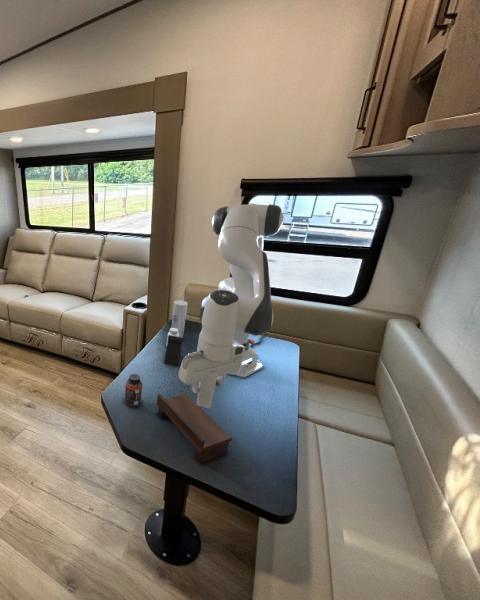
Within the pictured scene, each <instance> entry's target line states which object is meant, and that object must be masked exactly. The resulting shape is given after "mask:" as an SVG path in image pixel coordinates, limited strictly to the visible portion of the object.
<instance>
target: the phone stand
mask: <svg viewBox="0 0 480 600" xmlns="http://www.w3.org/2000/svg"><path fill="white" fill-rule="evenodd" d="M167 336H168V335H167ZM183 339H184V337H183V338H181V337H176V336H171V335H169V336H168V343H167V342H166V345H167V346H166V350H165V357H164V361H163V362H164V364H167V365H170V366H177V367H178V366H179V363H180V361H181V355H182V346H183Z"/></svg>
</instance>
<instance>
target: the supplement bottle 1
mask: <svg viewBox="0 0 480 600" xmlns="http://www.w3.org/2000/svg"><path fill="white" fill-rule="evenodd" d="M142 393H143V382H142V380H141V375H139V374H137V373H131V374H129V375H128V379H127V380H126V381H125V393H124V402H125V404H126V405H127V406H129V407H132V408H133V407H134V408H135V407H138V406H140V405H141V402H142Z"/></svg>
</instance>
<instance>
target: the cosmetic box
mask: <svg viewBox="0 0 480 600" xmlns="http://www.w3.org/2000/svg"><path fill="white" fill-rule="evenodd" d="M217 372H218V370H217V371H214V372H210V373H208V376H207V380H205V381H201V382H199V384H198V387H200V392H198V393H197V397H196V405H198V406H199V407H202V408H206V409H212V406H213V401H214V395H215V391H216V386H215V385H216V379H217Z"/></svg>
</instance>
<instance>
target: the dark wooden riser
mask: <svg viewBox="0 0 480 600" xmlns="http://www.w3.org/2000/svg"><path fill="white" fill-rule="evenodd" d="M196 404H197V402H195V401H194V400H193V399H191V398H190V397H189V396H188V395H187V394H186V393H183V394H178V395H174V396H172V397H169V398H164V396H163V395H162V394H161V393H159V394H158V393H157V398H156V406H157V407H158V410H157V416H158V417H159V418H160V419H163V418H166V417H167V418H168V419H169V420H170V421H171V422H172V423H173V424H174V426H175V427H176V428H177V429H178V430H179V431H180V432H181V433H182V435H184V436H185V438H187V440H188V441H189V442H190V443H191V444H192V445H193V446H194V448H195V449H196V456H195V459H196V460H197V461H198V463H200V464H202V463H205V462H208V461H210V460H214V459H215V458H218V457H221V456H224V455H227V454H228V453H227V452H228V448H229V443H230V442H232V441H233V436H231V435H230V434H229V433H228V432H227V431H226V430H225V429H224V428H223V427H221V425H220V424H219V423H217V422H216V420H214V419H213V417H211V416H210V415H209V414H208V413H207V412H205V410H204V409H203V408H201V406H198V405H196Z"/></svg>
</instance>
